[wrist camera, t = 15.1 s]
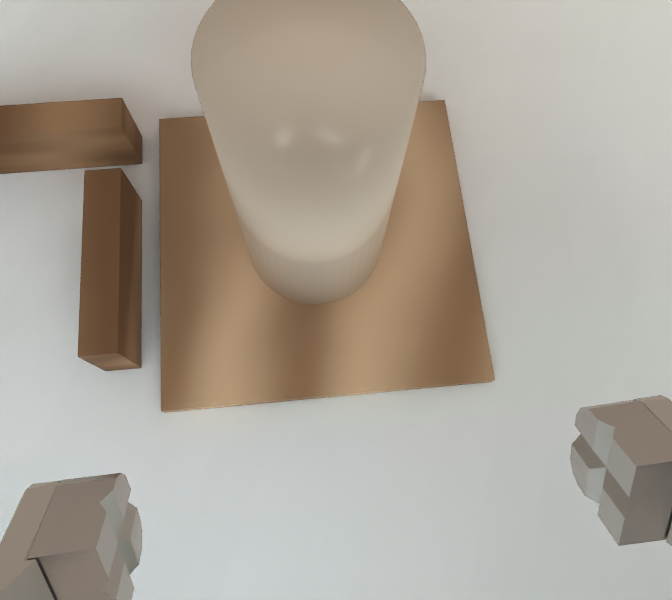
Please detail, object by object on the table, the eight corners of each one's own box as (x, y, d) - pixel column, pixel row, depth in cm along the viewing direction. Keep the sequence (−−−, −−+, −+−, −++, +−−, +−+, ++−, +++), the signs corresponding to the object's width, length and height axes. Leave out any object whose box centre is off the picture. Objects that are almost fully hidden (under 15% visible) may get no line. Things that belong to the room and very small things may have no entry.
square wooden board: (164, 412, 24) (161, 410, 24) (162, 126, 28) (159, 119, 28) (490, 381, 25) (494, 379, 25) (442, 107, 29) (444, 100, 29)
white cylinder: (252, 309, 25) (193, 167, 14) (242, 142, 28) (186, -98, 16) (388, 298, 25) (442, 148, 14) (367, 133, 28) (398, -108, 17)
